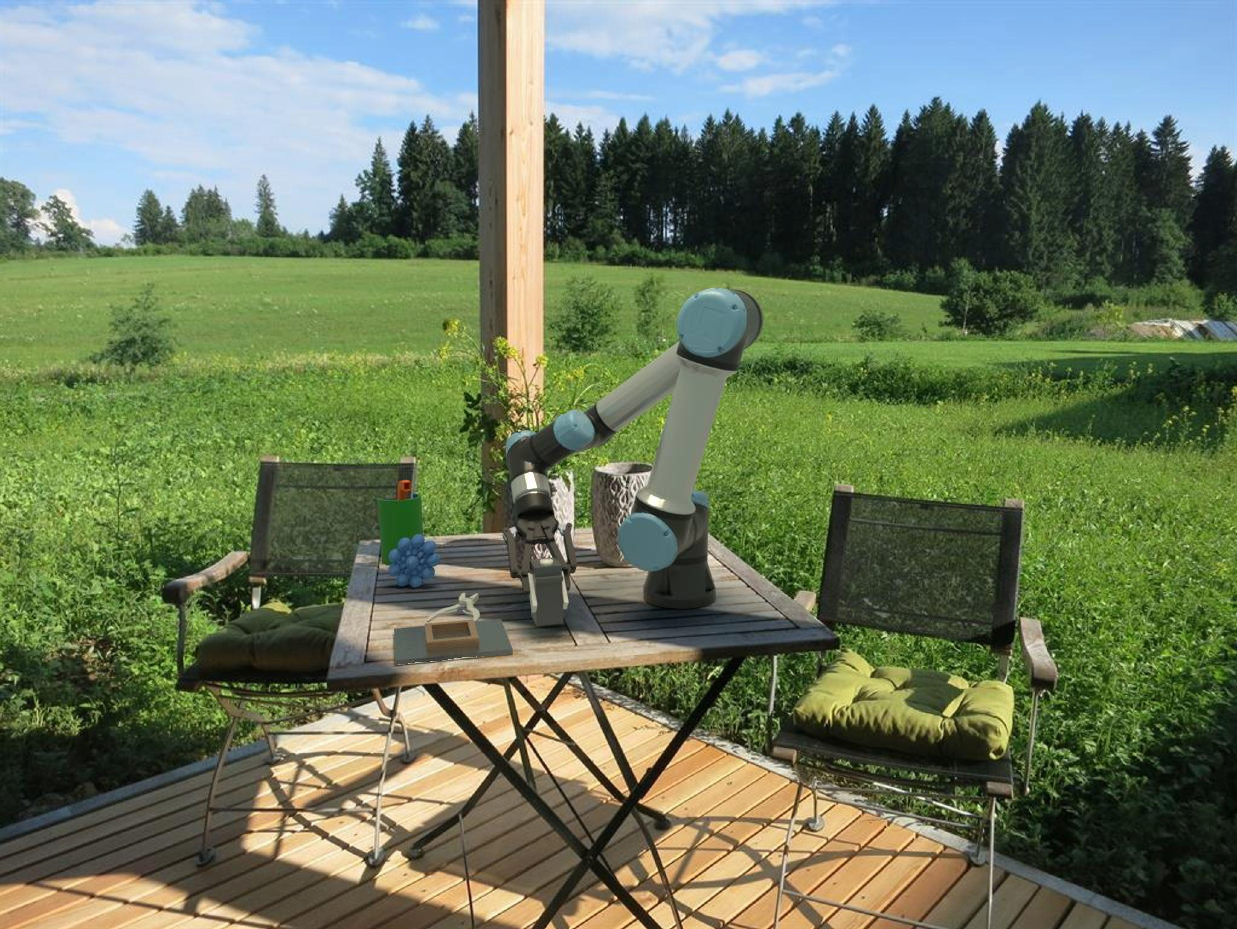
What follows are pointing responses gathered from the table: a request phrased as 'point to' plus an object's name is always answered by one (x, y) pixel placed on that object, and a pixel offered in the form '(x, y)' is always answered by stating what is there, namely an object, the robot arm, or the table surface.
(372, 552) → the table surface
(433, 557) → the grapes
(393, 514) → the green pencil holder
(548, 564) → the servo
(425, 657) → the plate
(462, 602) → the pliers
